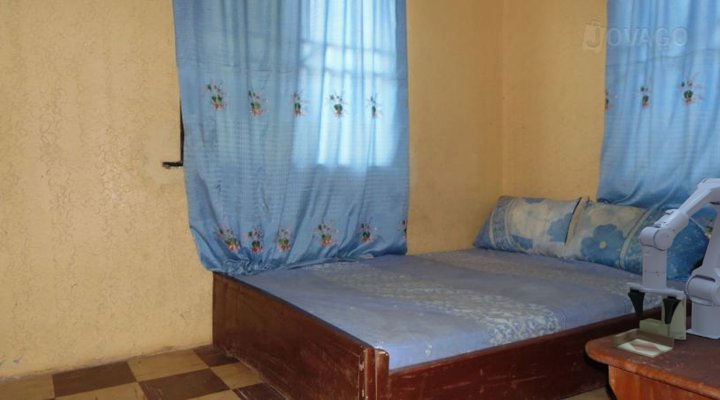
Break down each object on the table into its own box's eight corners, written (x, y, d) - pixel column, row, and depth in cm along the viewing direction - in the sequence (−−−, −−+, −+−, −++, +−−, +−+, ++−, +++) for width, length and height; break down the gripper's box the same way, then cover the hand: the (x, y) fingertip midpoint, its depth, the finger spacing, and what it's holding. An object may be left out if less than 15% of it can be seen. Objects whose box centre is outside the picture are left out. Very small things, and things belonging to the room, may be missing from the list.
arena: (635, 338, 148) (635, 328, 147) (673, 348, 139) (674, 337, 139) (613, 347, 141) (613, 335, 141) (652, 357, 133) (652, 345, 133)
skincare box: (686, 340, 146) (687, 295, 145) (668, 339, 147) (669, 295, 146) (677, 333, 152) (678, 290, 152) (660, 332, 153) (661, 290, 152)
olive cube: (648, 335, 151) (649, 318, 150) (667, 340, 147) (667, 322, 146) (639, 339, 148) (639, 321, 148) (658, 343, 144) (658, 325, 143)
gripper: (620, 268, 150) (619, 316, 151) (675, 277, 138) (674, 329, 139) (634, 266, 154) (633, 312, 155) (688, 273, 142) (686, 324, 143)
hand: (653, 320), depth 147 cm, fingers open, 7 cm apart
